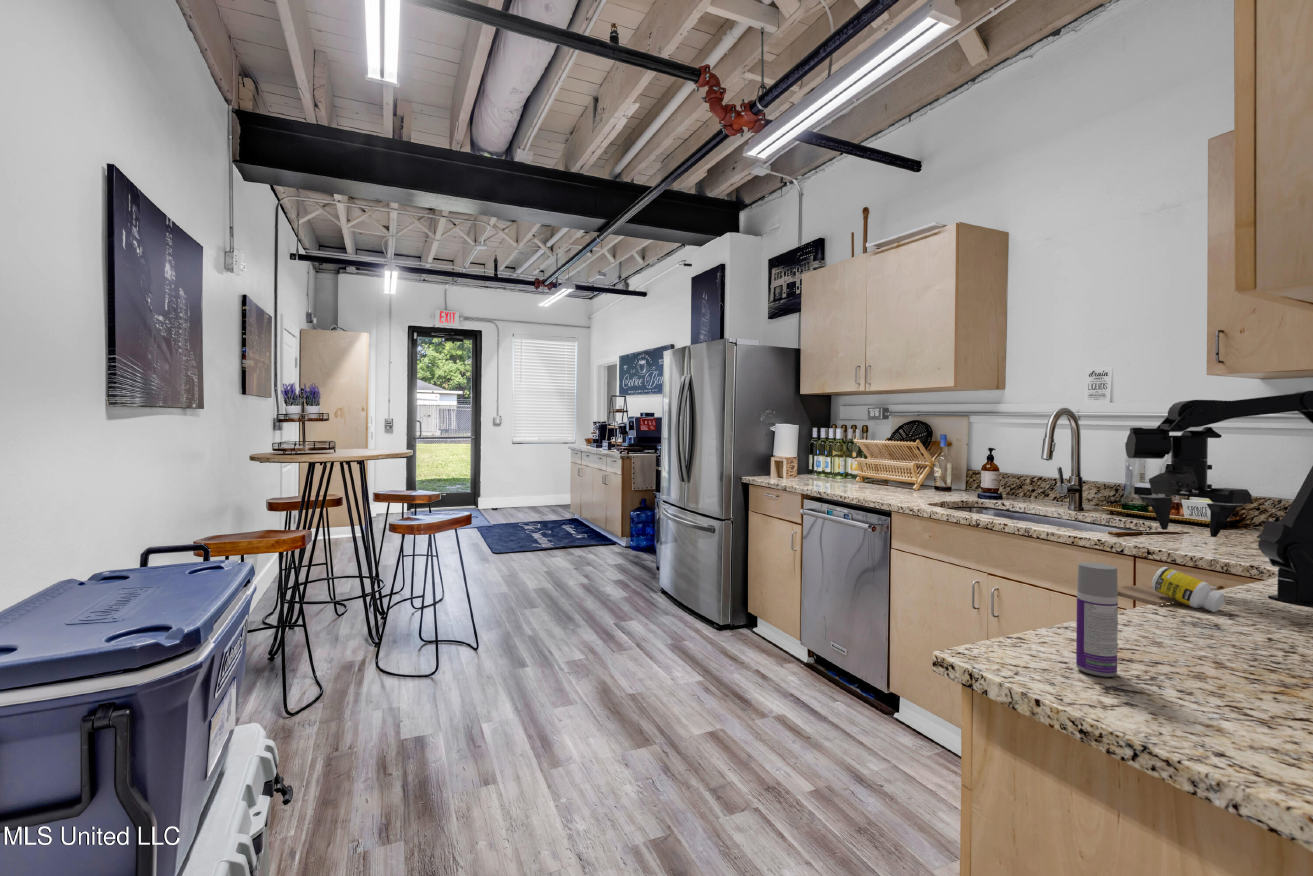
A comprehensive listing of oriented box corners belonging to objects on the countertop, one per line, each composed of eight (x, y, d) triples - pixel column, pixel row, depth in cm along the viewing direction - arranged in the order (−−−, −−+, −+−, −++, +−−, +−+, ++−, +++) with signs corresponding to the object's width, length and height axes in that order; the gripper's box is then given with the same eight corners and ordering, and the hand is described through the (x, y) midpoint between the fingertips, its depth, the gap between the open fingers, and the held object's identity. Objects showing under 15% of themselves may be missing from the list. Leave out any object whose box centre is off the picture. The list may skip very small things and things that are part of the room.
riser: (1143, 592, 128) (1143, 584, 128) (1200, 606, 117) (1200, 598, 117) (1103, 595, 125) (1104, 588, 125) (1159, 610, 115) (1159, 602, 115)
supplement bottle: (1151, 574, 117) (1212, 599, 109) (1167, 561, 119) (1229, 584, 110) (1149, 594, 119) (1209, 620, 111) (1165, 581, 121) (1225, 606, 112)
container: (1077, 660, 87) (1078, 560, 87) (1117, 669, 84) (1118, 565, 84) (1074, 670, 83) (1075, 566, 83) (1116, 679, 80) (1117, 571, 80)
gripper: (1115, 457, 130) (1114, 527, 131) (1212, 462, 112) (1211, 542, 112) (1152, 457, 133) (1152, 525, 133) (1254, 461, 115) (1253, 540, 115)
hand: (1188, 533), depth 123 cm, fingers open, 9 cm apart
